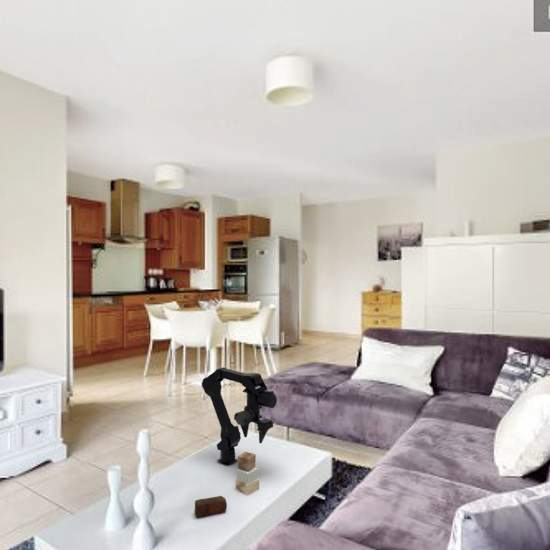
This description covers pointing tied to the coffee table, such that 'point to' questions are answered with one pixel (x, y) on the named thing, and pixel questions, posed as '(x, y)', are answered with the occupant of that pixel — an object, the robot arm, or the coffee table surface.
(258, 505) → the coffee table surface
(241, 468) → the walnut block
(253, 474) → the tower top
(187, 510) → the coffee table surface
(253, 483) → the tower base
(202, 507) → the brick
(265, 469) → the coffee table surface
